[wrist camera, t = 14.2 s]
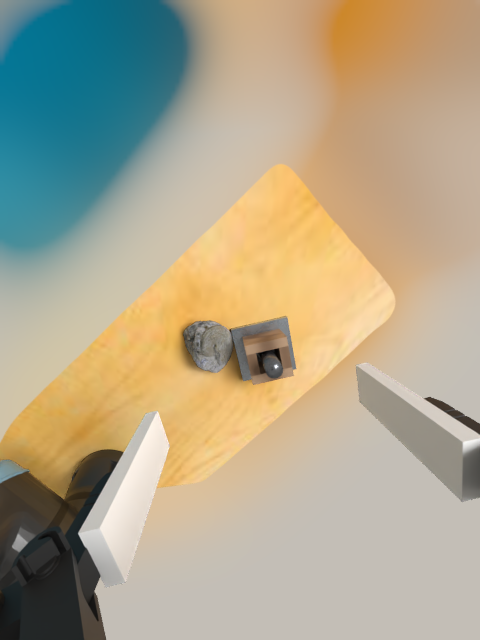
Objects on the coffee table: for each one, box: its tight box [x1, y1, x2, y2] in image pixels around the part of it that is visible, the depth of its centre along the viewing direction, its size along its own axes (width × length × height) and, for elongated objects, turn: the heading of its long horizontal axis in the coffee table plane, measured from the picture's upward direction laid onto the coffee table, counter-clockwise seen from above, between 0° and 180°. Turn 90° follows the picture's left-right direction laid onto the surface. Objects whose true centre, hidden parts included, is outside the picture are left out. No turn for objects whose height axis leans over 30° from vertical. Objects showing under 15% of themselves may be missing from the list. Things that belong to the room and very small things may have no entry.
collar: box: [242, 329, 294, 385], centre depth 44 cm, size 8×8×6 cm
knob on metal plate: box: [231, 316, 296, 381], centre depth 43 cm, size 12×12×11 cm
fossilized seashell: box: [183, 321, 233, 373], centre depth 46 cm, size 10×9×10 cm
